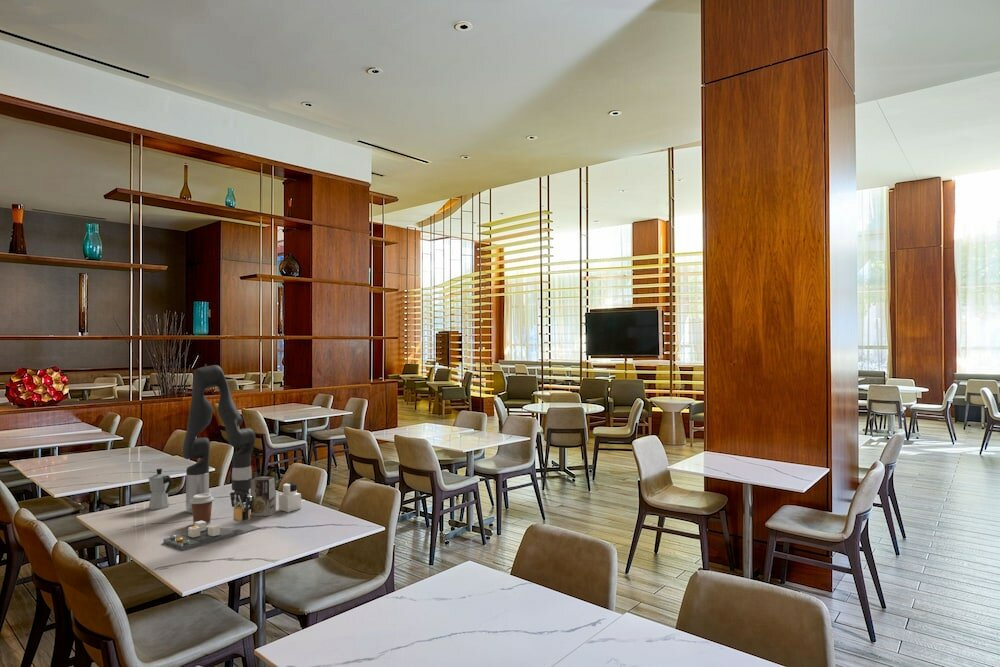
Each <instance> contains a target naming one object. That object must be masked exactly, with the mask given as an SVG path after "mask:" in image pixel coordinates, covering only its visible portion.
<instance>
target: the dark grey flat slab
mask: <svg viewBox="0 0 1000 667" xmlns="http://www.w3.org/2000/svg"><path fill="white" fill-rule="evenodd" d="M227 529H228V528H224V527H220V535H216V536H210V535H208V526H206V530H204V531H200V536H197V537H194V538H192V537H190V536H188V531H187V532H183V533H181V534H172V535H170V536H169V537H166V538H163V540H162V541H163V544H165V545H168V546H171V547H173V548H175V549H178V550H180V551H187V550H191V549H194V548H196V547H200V546H204V545H208V544H210V543H213V542H217V541H220V540H223V539H224V540H225V539H228V538H232V537H234V536H235V534H234V532H233V531H230V530H227Z"/></svg>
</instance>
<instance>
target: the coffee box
mask: <svg viewBox="0 0 1000 667" xmlns="http://www.w3.org/2000/svg"><path fill="white" fill-rule="evenodd" d="M276 478H277V477H276V476H255V477H254V478H253V477H252V487H251V488H250V489H249V491H250V496H254V499H253V505H252V509H251V510H250V517H251V516H252V517H253V516H255V517H257V516H265V517H267V516H272V515H273V514H276V512H277V509H276V508H277V506H276V504H277V501H276V500H277V498H276V497H277V496H276V495H277V493H276V492H277V491H276V490H277V489H276V488H277V487H276V486H277V485H276V481H277V480H276Z"/></svg>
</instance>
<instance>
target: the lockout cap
mask: <svg viewBox="0 0 1000 667" xmlns="http://www.w3.org/2000/svg"><path fill="white" fill-rule="evenodd" d="M244 507H245V505H244ZM232 520H233V521H235V522H238V523H242V522H245V521H250V520H251V510H249V511H248V520H245V521H244V520H242V506H239V507H236V508H234V507H233V518H232Z"/></svg>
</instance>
